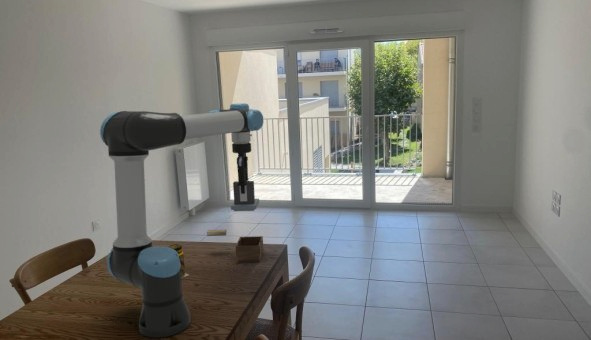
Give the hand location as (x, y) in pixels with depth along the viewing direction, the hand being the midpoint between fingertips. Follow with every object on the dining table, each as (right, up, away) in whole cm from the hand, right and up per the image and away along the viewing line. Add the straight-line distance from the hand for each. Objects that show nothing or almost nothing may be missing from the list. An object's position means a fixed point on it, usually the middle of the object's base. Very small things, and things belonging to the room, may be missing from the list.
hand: (244, 199), depth 177 cm
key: (-13, -16, +11) cm, 24 cm away
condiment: (-26, -29, -8) cm, 40 cm away
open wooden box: (+2, -25, +8) cm, 26 cm away
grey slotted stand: (0, -3, +3) cm, 4 cm away
